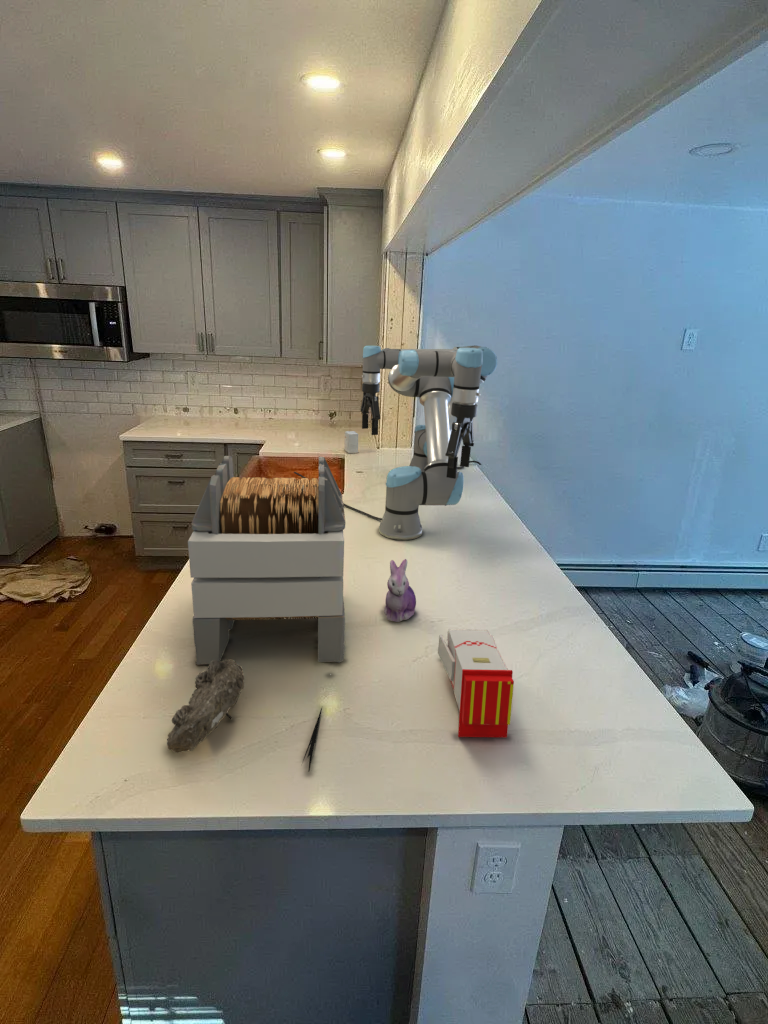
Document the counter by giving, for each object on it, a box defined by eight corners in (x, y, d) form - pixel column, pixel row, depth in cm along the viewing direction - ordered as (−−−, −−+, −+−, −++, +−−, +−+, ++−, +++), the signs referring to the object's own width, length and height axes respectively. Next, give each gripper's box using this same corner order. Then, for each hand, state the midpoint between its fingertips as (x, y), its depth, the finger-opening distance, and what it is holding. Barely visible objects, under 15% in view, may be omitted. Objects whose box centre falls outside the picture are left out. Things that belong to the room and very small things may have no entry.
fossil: (192, 660, 117) (244, 628, 112) (224, 691, 120) (276, 661, 115) (142, 746, 98) (202, 712, 93) (182, 779, 101) (242, 748, 96)
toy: (488, 613, 130) (523, 677, 101) (484, 667, 133) (517, 744, 104) (435, 612, 130) (455, 676, 101) (432, 666, 133) (451, 743, 103)
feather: (331, 679, 122) (336, 673, 122) (307, 777, 96) (313, 769, 95) (324, 675, 122) (329, 669, 121) (298, 772, 95) (304, 764, 95)
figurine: (392, 627, 141) (395, 572, 136) (374, 608, 149) (376, 556, 144) (425, 619, 145) (429, 566, 140) (405, 601, 154) (408, 550, 149)
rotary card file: (219, 592, 154) (209, 445, 140) (339, 591, 158) (342, 448, 144) (193, 667, 122) (178, 487, 108) (344, 663, 126) (348, 488, 112)
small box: (358, 453, 307) (358, 434, 304) (348, 453, 306) (348, 434, 302) (354, 449, 315) (354, 430, 311) (344, 450, 313) (344, 431, 309)
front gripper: (464, 411, 154) (457, 485, 162) (488, 398, 176) (480, 463, 183) (438, 407, 157) (432, 480, 165) (464, 395, 178) (458, 460, 186)
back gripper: (354, 379, 254) (353, 426, 261) (371, 387, 232) (370, 438, 239) (370, 379, 257) (368, 425, 264) (389, 386, 235) (387, 437, 242)
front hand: (458, 472), depth 174 cm, fingers open, 13 cm apart
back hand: (369, 431), depth 252 cm, fingers open, 13 cm apart
